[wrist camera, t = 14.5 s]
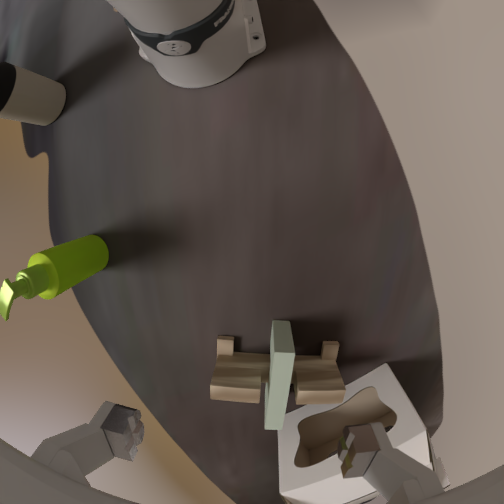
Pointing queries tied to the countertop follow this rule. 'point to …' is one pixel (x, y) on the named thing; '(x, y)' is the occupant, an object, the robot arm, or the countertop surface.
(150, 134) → the countertop surface
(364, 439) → the robot arm
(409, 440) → the gable box
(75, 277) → the soap dispenser
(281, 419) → the grey-green rectangular slab
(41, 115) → the travel mug
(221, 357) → the wooden peg bench
